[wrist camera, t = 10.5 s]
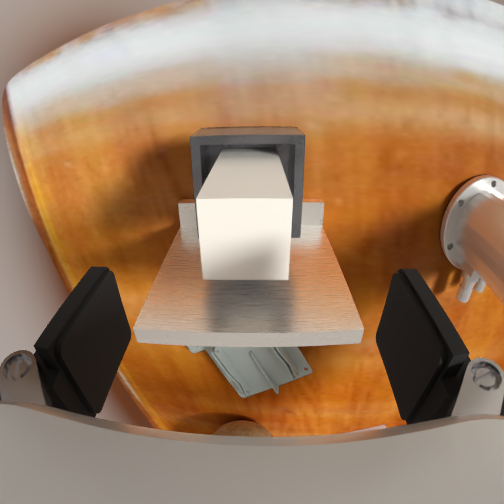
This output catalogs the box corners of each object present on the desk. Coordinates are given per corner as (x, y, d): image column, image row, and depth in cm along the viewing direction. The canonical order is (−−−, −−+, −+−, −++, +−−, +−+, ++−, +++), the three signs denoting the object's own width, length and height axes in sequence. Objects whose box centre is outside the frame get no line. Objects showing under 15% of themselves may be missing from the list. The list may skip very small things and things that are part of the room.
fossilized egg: (243, 444, 56) (241, 508, 43) (194, 421, 51) (184, 493, 38) (292, 424, 51) (297, 496, 38) (242, 398, 47) (238, 482, 34)
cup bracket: (317, 251, 33) (352, 367, 19) (186, 251, 34) (146, 366, 20) (326, 122, 27) (397, 161, 13) (174, 124, 27) (94, 165, 13)
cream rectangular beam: (275, 199, 24) (288, 279, 15) (224, 199, 24) (203, 279, 15) (276, 149, 22) (292, 198, 13) (222, 149, 22) (195, 198, 13)
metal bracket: (330, 379, 36) (230, 413, 40) (328, 354, 42) (239, 389, 46) (274, 285, 34) (170, 335, 38) (278, 268, 40) (186, 315, 44)
